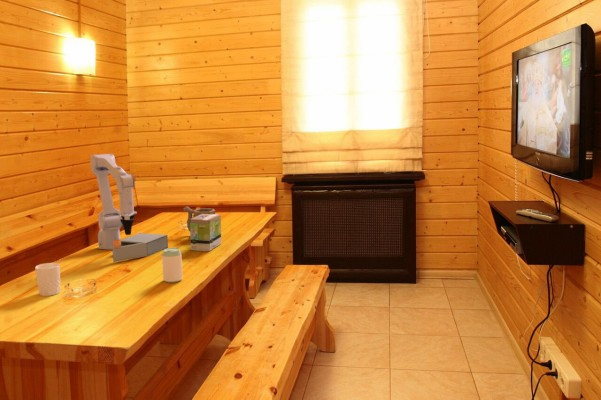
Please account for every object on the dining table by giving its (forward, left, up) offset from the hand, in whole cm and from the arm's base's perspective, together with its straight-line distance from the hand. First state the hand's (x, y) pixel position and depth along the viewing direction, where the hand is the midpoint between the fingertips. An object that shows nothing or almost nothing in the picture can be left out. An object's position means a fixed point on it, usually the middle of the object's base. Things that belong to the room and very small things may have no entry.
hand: (128, 232), depth 247 cm
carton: (+1, +10, -10) cm, 14 cm away
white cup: (+4, -52, -11) cm, 54 cm away
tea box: (+25, +24, -11) cm, 36 cm away
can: (+38, -26, -11) cm, 48 cm away
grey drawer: (+5, -6, -10) cm, 12 cm away
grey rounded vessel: (+11, +43, -11) cm, 45 cm away
